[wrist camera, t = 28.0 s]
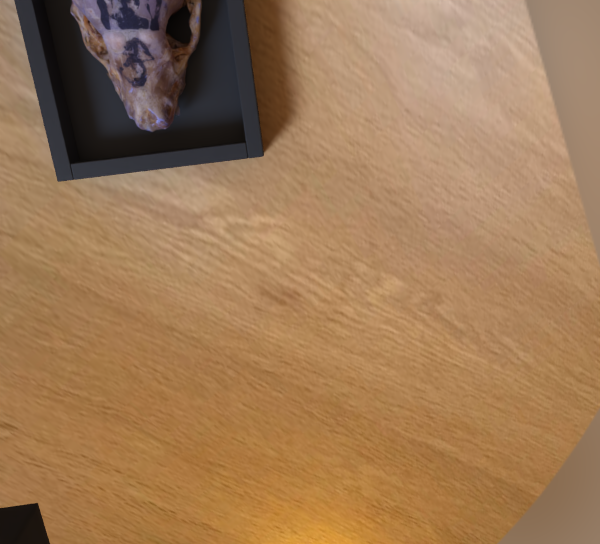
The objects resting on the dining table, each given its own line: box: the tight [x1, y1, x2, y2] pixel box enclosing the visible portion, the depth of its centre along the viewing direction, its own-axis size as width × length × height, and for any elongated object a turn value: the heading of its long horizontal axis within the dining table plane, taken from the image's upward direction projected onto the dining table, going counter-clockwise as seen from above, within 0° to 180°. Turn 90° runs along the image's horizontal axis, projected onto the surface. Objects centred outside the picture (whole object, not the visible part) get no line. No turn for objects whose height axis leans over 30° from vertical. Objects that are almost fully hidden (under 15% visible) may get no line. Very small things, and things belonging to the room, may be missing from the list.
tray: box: [15, 0, 264, 181], centre depth 33 cm, size 13×17×3 cm
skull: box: [70, 0, 202, 132], centre depth 31 cm, size 12×8×6 cm, turn 177°
